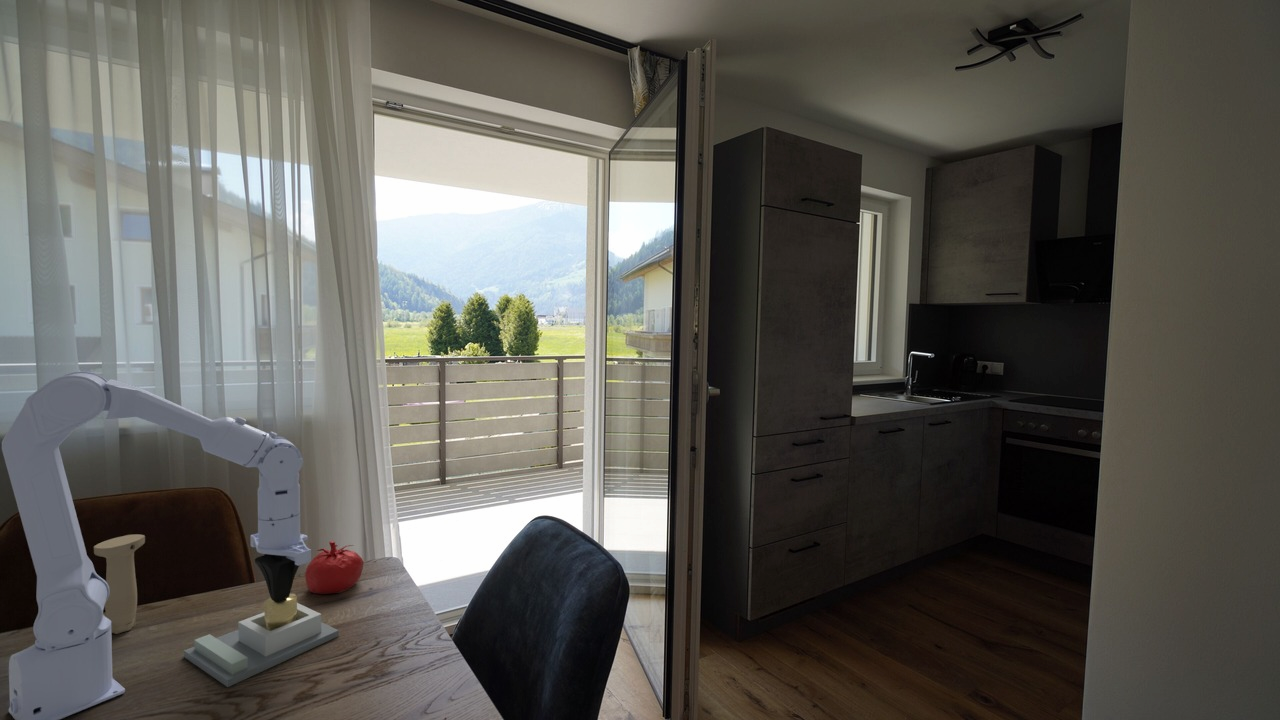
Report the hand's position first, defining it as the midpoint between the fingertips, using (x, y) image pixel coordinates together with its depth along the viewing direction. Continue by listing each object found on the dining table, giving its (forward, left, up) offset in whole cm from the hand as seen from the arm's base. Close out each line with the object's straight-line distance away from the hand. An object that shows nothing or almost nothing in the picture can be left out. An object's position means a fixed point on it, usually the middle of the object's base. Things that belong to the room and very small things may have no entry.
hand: (280, 598), depth 90 cm
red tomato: (+16, +12, -8) cm, 21 cm away
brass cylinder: (0, 0, -6) cm, 6 cm away
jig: (-2, +1, -7) cm, 8 cm away
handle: (-12, +26, -7) cm, 30 cm away
